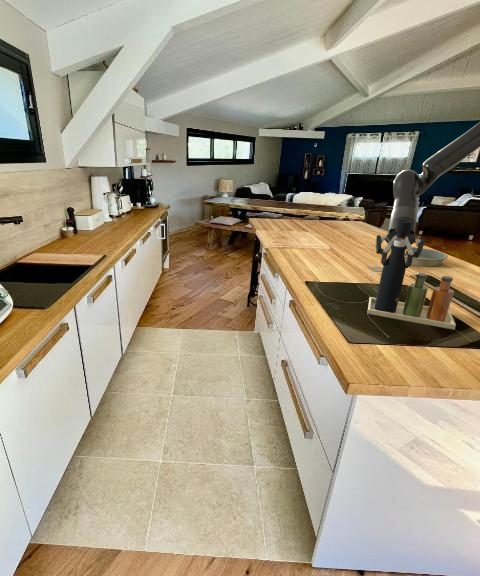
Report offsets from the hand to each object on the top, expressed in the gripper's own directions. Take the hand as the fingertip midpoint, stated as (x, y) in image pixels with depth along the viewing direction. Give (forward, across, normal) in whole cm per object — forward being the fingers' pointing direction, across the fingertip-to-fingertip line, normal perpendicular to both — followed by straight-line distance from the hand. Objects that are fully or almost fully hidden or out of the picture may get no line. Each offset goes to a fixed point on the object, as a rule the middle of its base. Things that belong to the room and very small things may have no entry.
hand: (395, 265), depth 100 cm
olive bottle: (+10, +8, +13) cm, 18 cm away
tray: (+11, +6, +13) cm, 18 cm away
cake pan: (-43, +14, +68) cm, 82 cm away
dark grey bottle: (+10, 0, +13) cm, 17 cm away
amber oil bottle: (+10, +14, +13) cm, 22 cm away
